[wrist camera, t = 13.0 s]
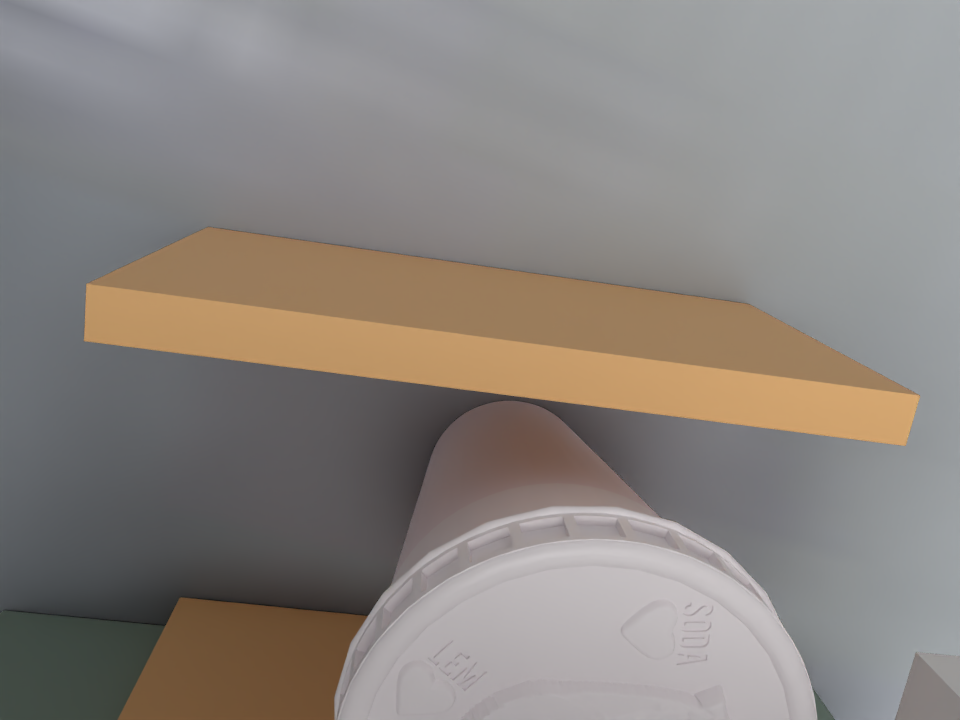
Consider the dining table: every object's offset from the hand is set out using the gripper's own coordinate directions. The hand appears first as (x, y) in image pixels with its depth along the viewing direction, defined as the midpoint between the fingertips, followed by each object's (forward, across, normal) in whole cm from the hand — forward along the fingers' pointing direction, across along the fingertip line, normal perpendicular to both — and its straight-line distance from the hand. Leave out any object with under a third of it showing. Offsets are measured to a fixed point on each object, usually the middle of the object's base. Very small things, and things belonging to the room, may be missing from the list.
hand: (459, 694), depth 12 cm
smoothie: (+9, -2, 0) cm, 9 cm away
